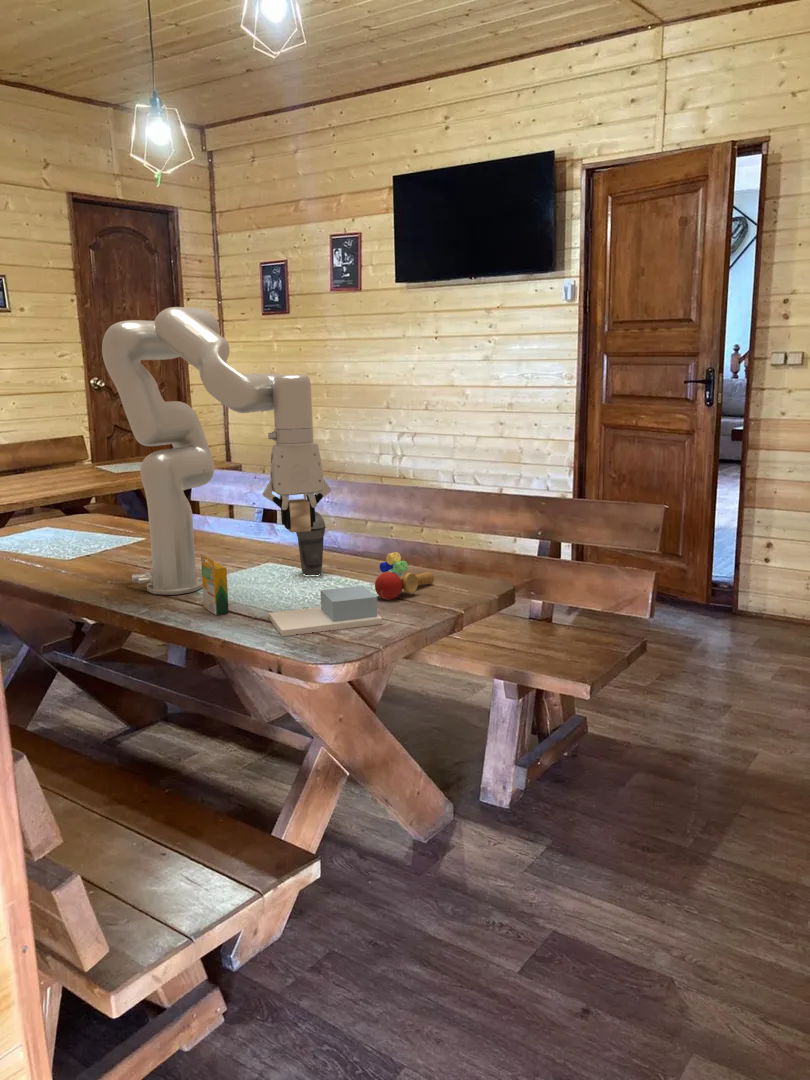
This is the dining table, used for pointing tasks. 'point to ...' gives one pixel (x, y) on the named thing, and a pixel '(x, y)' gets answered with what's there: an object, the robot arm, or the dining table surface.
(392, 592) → the kendama
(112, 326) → the robot arm
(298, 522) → the birch block
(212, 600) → the crayon box
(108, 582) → the dining table surface
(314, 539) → the beverage cup
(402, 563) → the dice
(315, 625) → the baseplate
